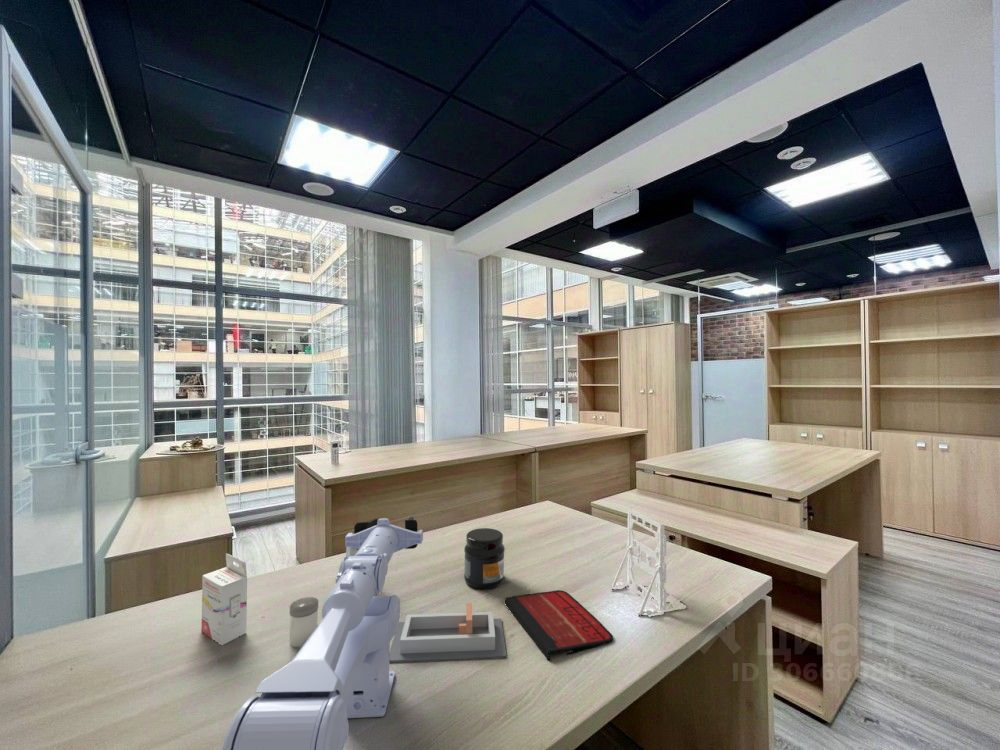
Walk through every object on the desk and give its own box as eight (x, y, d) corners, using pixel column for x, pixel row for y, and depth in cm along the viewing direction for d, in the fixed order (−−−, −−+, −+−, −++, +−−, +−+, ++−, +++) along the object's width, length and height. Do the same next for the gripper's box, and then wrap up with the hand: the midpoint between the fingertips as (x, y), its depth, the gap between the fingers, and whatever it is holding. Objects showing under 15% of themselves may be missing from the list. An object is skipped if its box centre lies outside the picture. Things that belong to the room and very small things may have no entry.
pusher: (472, 646, 80) (472, 620, 80) (458, 646, 79) (458, 620, 79) (471, 627, 86) (472, 603, 86) (459, 627, 85) (459, 603, 85)
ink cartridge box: (199, 632, 84) (200, 560, 84) (225, 620, 88) (227, 551, 88) (220, 647, 79) (222, 570, 80) (247, 633, 84) (248, 561, 84)
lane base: (506, 657, 77) (506, 642, 77) (387, 662, 75) (387, 646, 75) (501, 620, 89) (501, 606, 89) (398, 623, 87) (398, 610, 87)
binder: (548, 651, 76) (504, 596, 96) (547, 664, 76) (503, 606, 96) (618, 635, 82) (563, 586, 102) (617, 647, 82) (562, 596, 102)
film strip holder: (693, 610, 94) (693, 522, 94) (641, 619, 90) (641, 528, 90) (653, 580, 108) (653, 504, 108) (606, 587, 104) (606, 508, 104)
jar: (312, 647, 80) (312, 610, 80) (284, 648, 79) (284, 611, 79) (321, 630, 85) (322, 596, 85) (295, 631, 84) (296, 597, 84)
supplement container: (511, 585, 104) (511, 538, 104) (472, 594, 100) (473, 545, 100) (494, 568, 114) (494, 525, 114) (458, 575, 109) (458, 530, 109)
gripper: (417, 526, 75) (427, 502, 88) (336, 530, 74) (359, 505, 88) (418, 565, 75) (428, 535, 88) (337, 568, 74) (360, 538, 88)
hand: (393, 522), depth 88 cm, fingers open, 7 cm apart
